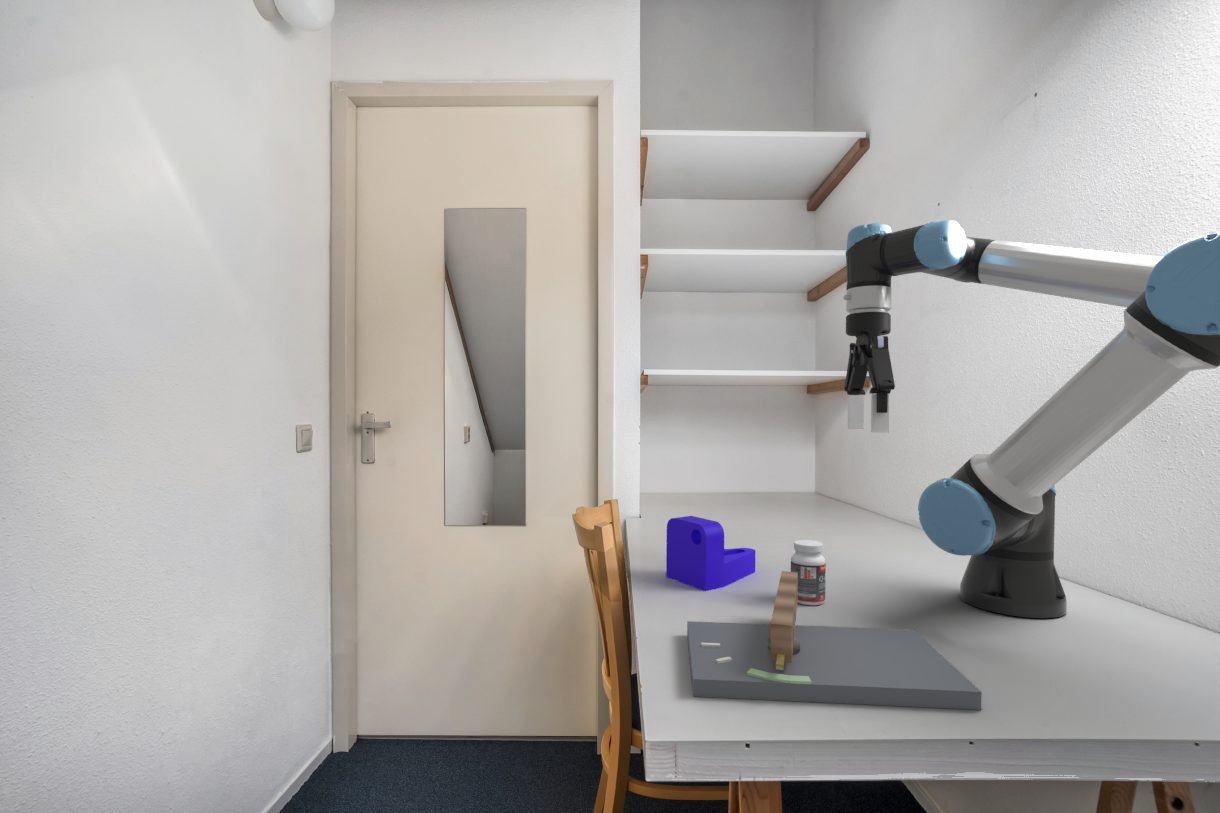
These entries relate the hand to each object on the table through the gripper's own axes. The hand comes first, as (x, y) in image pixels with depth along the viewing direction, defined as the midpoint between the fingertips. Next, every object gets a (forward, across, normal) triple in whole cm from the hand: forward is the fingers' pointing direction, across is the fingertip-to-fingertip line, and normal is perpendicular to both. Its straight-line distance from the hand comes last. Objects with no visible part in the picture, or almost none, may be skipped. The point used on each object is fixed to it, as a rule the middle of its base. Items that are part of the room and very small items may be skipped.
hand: (866, 430), depth 114 cm
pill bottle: (+29, +8, -12) cm, 32 cm away
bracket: (+29, -6, -26) cm, 39 cm away
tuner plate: (+29, +36, -17) cm, 49 cm away
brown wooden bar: (+27, +31, -20) cm, 46 cm away
